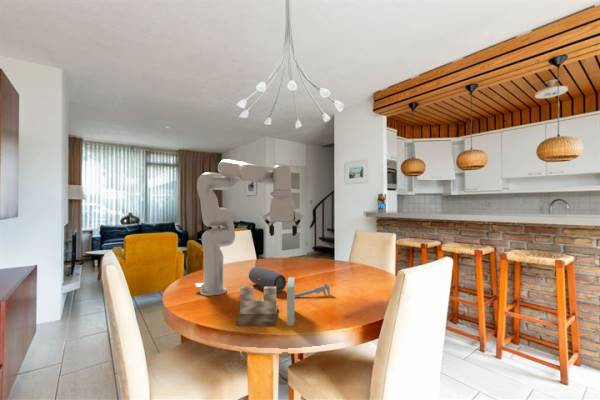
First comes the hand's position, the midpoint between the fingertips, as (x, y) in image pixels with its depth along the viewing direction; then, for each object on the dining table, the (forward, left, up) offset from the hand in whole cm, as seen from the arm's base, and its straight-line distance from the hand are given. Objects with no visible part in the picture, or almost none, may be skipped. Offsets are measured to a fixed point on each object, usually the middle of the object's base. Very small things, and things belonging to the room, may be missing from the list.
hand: (283, 235), depth 118 cm
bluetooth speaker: (-10, +29, -32) cm, 44 cm away
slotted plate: (+4, -8, -31) cm, 32 cm away
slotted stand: (-9, -7, -31) cm, 33 cm away
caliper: (+12, +17, -32) cm, 38 cm away
